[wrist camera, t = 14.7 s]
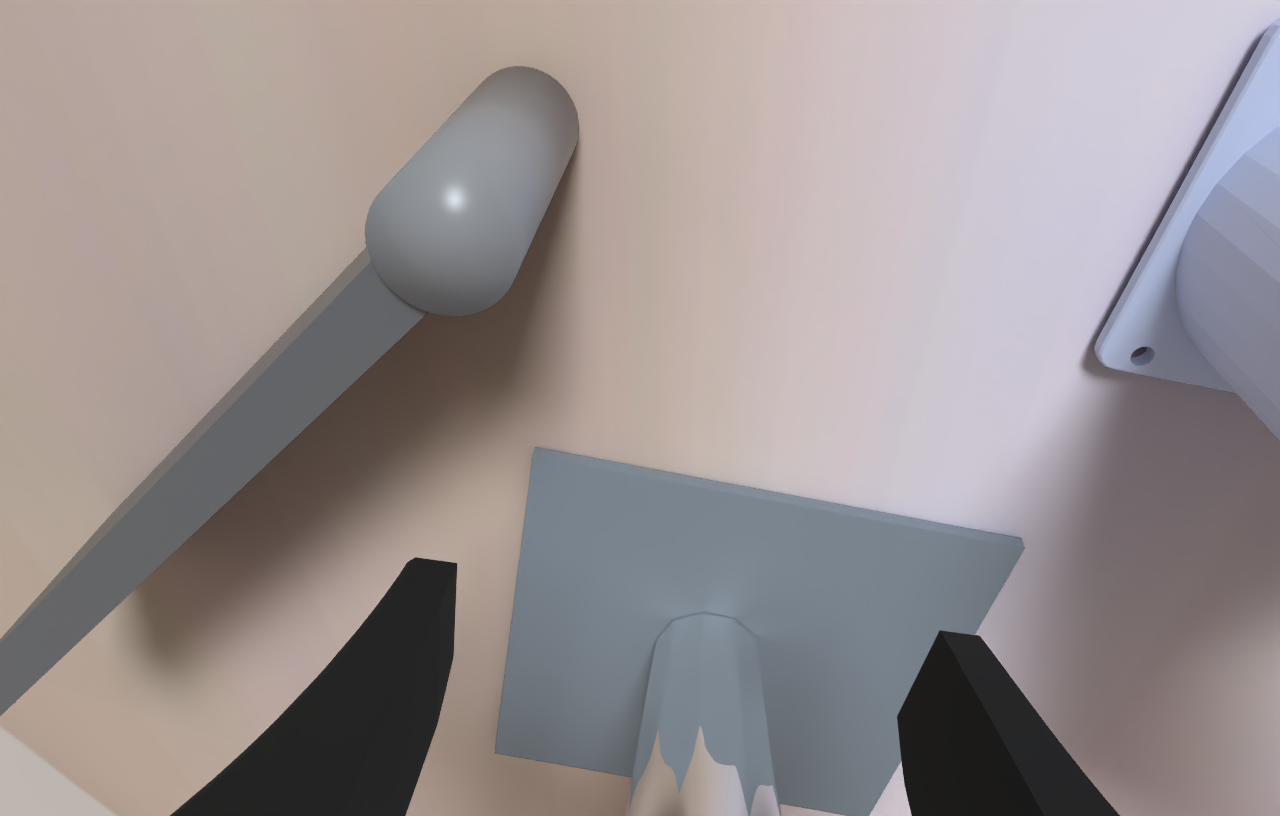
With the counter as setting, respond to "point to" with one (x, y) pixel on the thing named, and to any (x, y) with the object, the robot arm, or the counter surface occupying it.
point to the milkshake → (704, 726)
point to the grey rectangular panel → (330, 343)
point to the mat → (731, 616)
